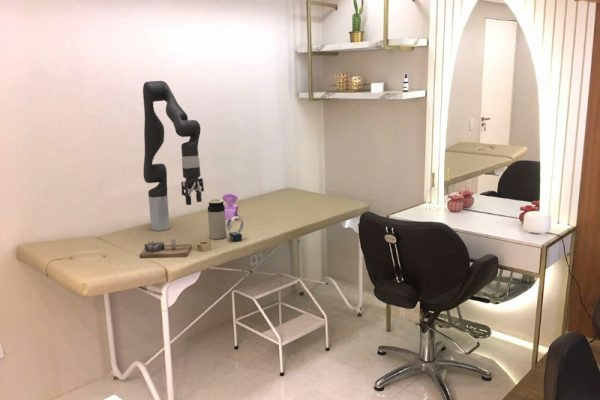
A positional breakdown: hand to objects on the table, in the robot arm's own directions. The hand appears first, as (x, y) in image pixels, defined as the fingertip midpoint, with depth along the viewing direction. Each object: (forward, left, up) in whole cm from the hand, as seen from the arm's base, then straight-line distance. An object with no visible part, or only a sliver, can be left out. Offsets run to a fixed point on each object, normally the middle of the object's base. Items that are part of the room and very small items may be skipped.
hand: (194, 203), depth 234 cm
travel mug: (-18, +7, -21) cm, 28 cm away
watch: (-12, +16, -21) cm, 29 cm away
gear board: (+4, -13, -21) cm, 25 cm away
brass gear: (+1, +3, -21) cm, 21 cm away
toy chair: (-51, +11, -21) cm, 56 cm away
